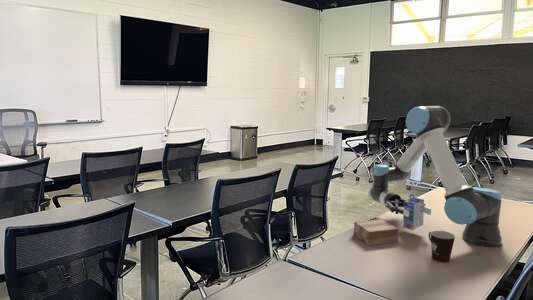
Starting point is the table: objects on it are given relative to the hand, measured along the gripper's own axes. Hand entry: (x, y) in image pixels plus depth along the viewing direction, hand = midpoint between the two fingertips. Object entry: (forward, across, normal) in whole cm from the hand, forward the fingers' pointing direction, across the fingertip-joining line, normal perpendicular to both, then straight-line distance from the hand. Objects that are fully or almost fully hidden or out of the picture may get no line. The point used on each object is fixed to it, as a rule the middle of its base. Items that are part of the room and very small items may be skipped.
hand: (419, 213), depth 175 cm
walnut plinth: (-4, +19, -11) cm, 22 cm away
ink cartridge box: (-4, 0, -8) cm, 9 cm away
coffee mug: (+20, +5, -12) cm, 24 cm away
